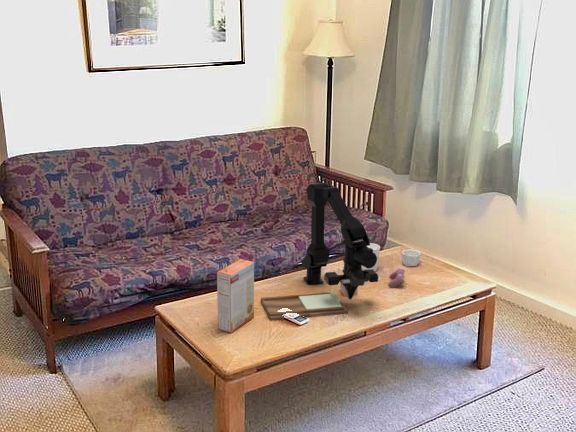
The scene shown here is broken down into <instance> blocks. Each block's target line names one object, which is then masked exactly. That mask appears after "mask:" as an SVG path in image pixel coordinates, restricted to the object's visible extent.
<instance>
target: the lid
mask: <svg viewBox="0 0 576 432" xmlns="http://www.w3.org/2000/svg"><path fill="white" fill-rule="evenodd" d="M299 300H300V301H301V303H302V305H303V306H304V308H305V309H306V310H310V309H322V308H334V307H342V306H341V304H340V301H341V299H340V298H339V297H338V295H337V294H336V293H335V291H330V294H322V295H310V296H299Z"/></svg>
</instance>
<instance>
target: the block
mask: <svg viewBox="0 0 576 432" xmlns="http://www.w3.org/2000/svg"><path fill="white" fill-rule="evenodd" d="M339 286H340V290H339V291H340V293H341V294H342V295H343V297H348V295H347V292H346V289H345V287H344V286H343V285H342V283H341V282H340V285H339ZM358 287H359V286H358ZM358 287H357V289H356V291H355V293H354V295H353V296H358Z"/></svg>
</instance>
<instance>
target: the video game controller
mask: <svg viewBox="0 0 576 432" xmlns="http://www.w3.org/2000/svg"><path fill="white" fill-rule="evenodd" d="M388 277H389V278H390V280H391V281H389V282H388V284H387V285H388V287H389V288H395V287H397V286H399V285H400V284H401V283H404V282H405V269H404V268H397V269H396V270H394V272H392V273H390V275H389V276H388Z"/></svg>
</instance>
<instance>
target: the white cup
mask: <svg viewBox="0 0 576 432" xmlns="http://www.w3.org/2000/svg"><path fill="white" fill-rule="evenodd" d="M367 247H368V248H371V249H373V253H375V254H376V256H377V262H376V264H375V265H374V266H373V267H372V268H366V267H364V266H362V265H361V266H362V267H361V268H362V271H363V270H368V269H373V270H374V271H375V272H377V271H378V266H379V260H380V253H381V252H380V251H381V246H380V244H377V243H372V242H370V245H369V246H367Z"/></svg>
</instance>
